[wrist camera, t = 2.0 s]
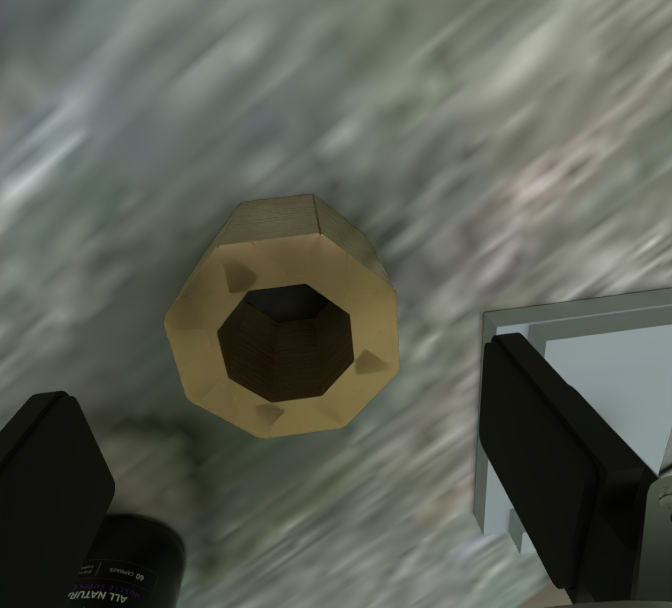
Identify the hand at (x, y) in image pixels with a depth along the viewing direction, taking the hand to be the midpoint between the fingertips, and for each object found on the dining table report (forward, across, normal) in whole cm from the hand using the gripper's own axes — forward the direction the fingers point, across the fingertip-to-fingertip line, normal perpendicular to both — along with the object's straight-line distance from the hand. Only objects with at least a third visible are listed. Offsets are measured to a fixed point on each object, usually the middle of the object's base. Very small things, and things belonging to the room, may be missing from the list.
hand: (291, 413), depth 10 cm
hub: (+10, 0, +1) cm, 10 cm away
